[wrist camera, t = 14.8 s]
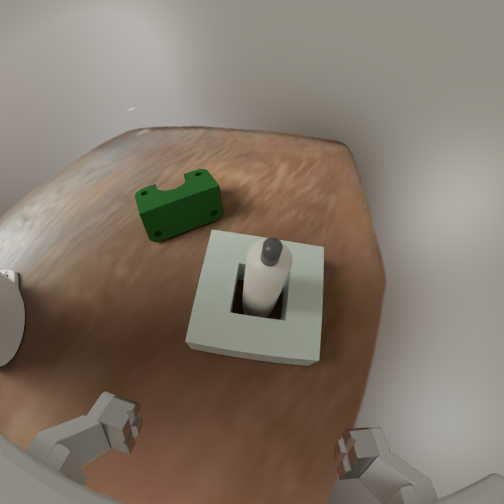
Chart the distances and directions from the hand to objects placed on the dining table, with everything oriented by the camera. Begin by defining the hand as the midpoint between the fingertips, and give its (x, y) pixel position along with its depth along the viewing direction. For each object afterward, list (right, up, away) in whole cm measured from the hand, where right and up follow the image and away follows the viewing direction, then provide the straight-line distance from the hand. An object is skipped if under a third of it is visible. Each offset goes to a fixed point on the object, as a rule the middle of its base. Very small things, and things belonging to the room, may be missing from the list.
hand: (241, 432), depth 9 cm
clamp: (-10, +12, +32) cm, 36 cm away
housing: (+1, 0, +25) cm, 25 cm away
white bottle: (+1, 0, +25) cm, 25 cm away
